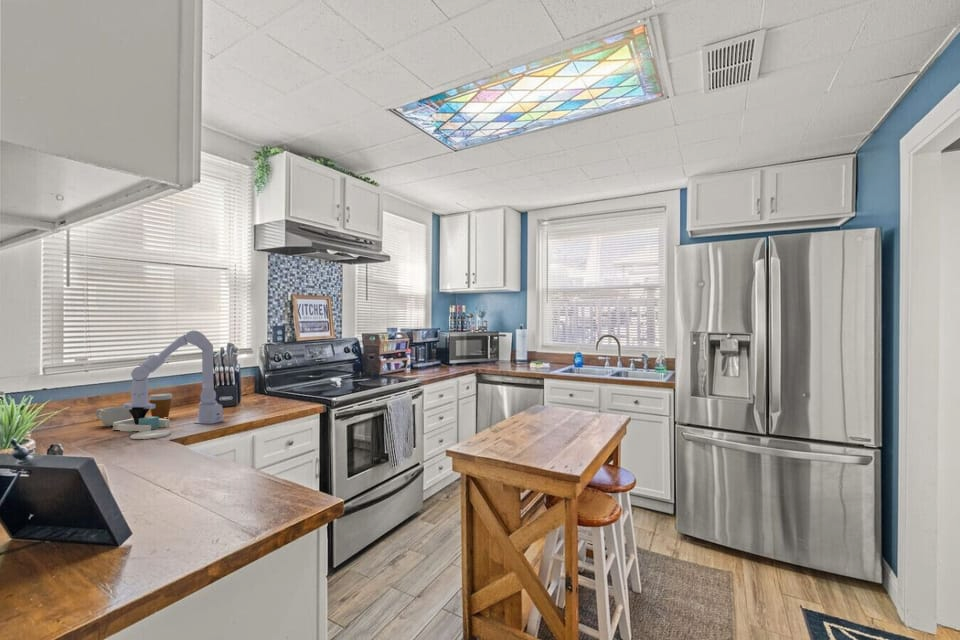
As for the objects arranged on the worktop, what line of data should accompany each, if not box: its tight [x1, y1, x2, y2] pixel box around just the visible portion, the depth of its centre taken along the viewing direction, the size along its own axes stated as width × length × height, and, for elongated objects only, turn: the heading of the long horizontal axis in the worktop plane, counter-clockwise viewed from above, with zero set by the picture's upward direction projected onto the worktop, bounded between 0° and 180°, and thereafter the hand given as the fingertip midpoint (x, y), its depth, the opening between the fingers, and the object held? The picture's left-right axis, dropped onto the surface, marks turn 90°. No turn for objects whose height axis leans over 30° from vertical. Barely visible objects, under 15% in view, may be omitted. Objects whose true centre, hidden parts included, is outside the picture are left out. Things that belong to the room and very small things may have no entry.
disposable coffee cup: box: [148, 393, 174, 418], centre depth 207 cm, size 10×10×12 cm
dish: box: [130, 429, 172, 439], centre depth 173 cm, size 13×13×1 cm
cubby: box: [112, 418, 171, 433], centre depth 186 cm, size 17×11×4 cm, turn 81°
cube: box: [138, 416, 160, 430], centre depth 186 cm, size 5×5×5 cm
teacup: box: [95, 405, 133, 428], centre depth 192 cm, size 14×11×8 cm
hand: (138, 424), depth 186 cm, fingers closed
